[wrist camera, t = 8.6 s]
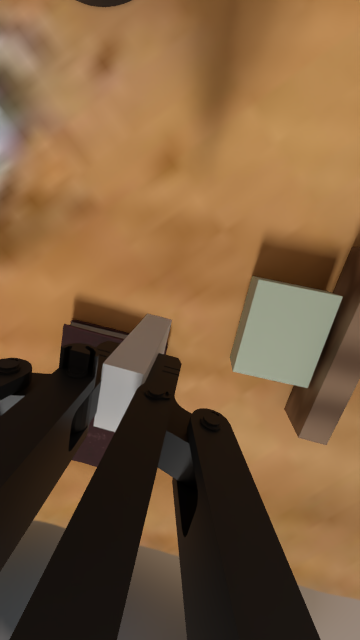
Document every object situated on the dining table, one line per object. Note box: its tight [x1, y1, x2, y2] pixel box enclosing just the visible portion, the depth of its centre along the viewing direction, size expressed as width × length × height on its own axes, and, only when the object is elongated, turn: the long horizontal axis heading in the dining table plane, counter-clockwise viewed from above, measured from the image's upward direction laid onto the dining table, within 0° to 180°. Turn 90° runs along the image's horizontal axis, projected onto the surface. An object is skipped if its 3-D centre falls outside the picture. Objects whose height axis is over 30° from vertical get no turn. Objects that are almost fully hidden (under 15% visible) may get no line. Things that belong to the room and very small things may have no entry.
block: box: [230, 276, 343, 388], centre depth 27 cm, size 10×8×4 cm
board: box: [285, 247, 360, 445], centre depth 26 cm, size 20×3×5 cm, turn 167°
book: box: [59, 320, 167, 467], centre depth 32 cm, size 12×19×3 cm, turn 167°
